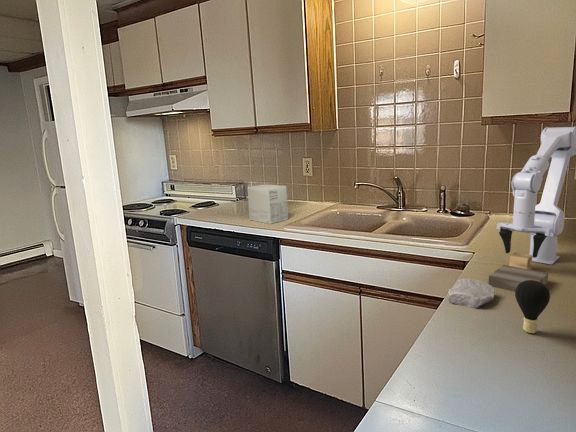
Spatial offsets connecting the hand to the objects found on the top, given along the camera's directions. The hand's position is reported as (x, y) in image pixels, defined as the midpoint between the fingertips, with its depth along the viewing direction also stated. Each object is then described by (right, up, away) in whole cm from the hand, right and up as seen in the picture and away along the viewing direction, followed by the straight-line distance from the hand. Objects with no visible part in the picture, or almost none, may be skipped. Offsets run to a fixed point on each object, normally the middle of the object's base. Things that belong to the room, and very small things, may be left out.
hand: (521, 254), depth 130 cm
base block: (-6, -8, -9) cm, 13 cm away
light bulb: (-18, -14, -36) cm, 43 cm away
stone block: (-23, -11, -17) cm, 31 cm away
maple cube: (0, -5, +1) cm, 5 cm away
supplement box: (-83, +10, +92) cm, 124 cm away
